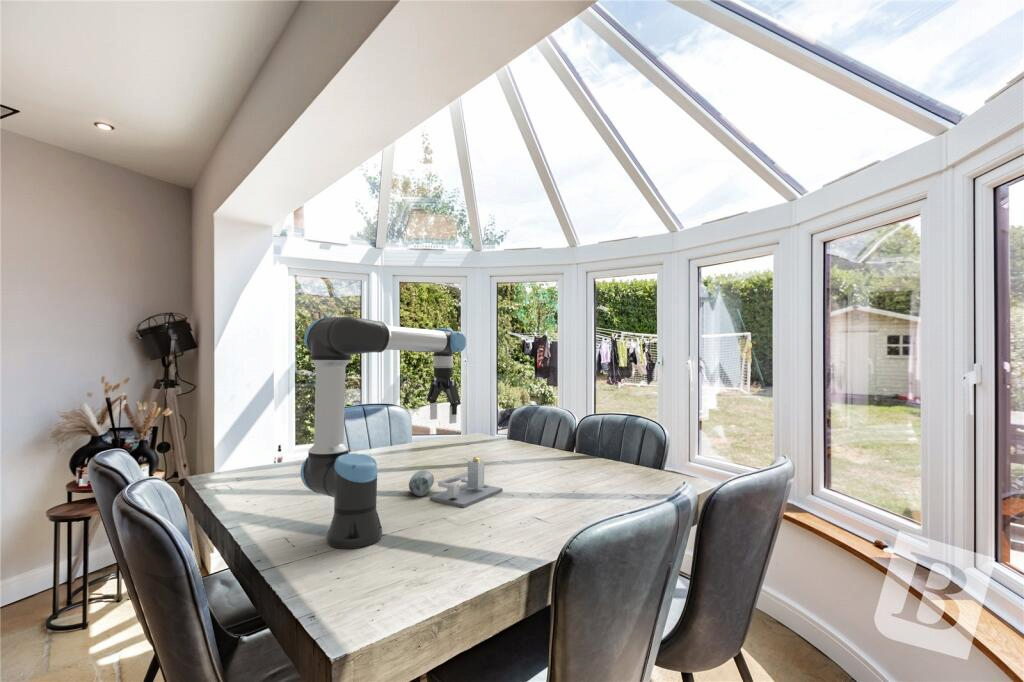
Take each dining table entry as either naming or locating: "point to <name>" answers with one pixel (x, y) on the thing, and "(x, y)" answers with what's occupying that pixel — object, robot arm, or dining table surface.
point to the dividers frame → (452, 488)
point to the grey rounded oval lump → (421, 482)
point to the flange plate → (466, 495)
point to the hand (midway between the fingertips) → (443, 421)
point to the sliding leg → (475, 474)
